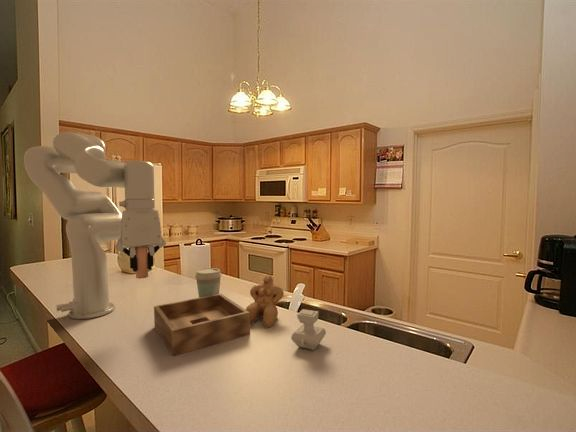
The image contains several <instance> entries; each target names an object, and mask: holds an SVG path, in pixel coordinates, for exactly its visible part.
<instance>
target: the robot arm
mask: <svg viewBox="0 0 576 432" xmlns="http://www.w3.org/2000/svg"><path fill="white" fill-rule="evenodd" d="M52 145H53V146H48V145H47V146H45V145H39V146H32V147H30V148H28V149H27V150H26V151H25V153H24V155H23V165H24V169H25V172H26V174H27V176H28V177H29V179H30V180H31V181H32V183H33V184H34V185H35V186H36V187H38V189H40V191H41V192H43V194H44V195H45V196H46V198H47V199H48V201H49V202H50V203H51V205H52V206H53V208H54V210H55V211H56V212H57V214H58V215H59V216H60V217H61V218H62V219H64V220H66V221H67V222H66V224H65V232H66V237H67V239H68V242H69V248H70V254H71V255H70V257H71V271H72V287H73V291H72V292H73V298H72V301H68V303H59V304H57V305H56V311H57V312H60V311H61V313H63V312H67V311H69V312H68V317H69V318H71V319H73V320H74V319H75V320H85V319H92V318H97V317H98V318H99V317H102V316H105V315H107V314H109V313H110V314H111V312H113V311H114V310H115V308H116V307H115V304H114V303H113V302H110V299H109V298H110V296H109V294H110V293H109V272H108V270H109V269H108V258H107V257H108V256H107V253H106V251H105V250H104V249H103V247H102V246H101V245H100V244H101V243H105V242H112V241H117V242H116V244H115V245H114V249H115V250H118V251H120V252H122V253H124V254H126V256H128V257H129V268H130V269H132V271H133V273H134V272H135V273H136V271H137V258H136V257H135V247H140V246H148V271H151V270H152V267H154V256H155V254H156V253H157V252H158V251H159V250H160V249H161V248H163V247H165V246H166V245H167V242H166V241H165V239H164V238H163V236H162V229H161V226H162V225H161V220H160V219H161V218H160V214H159V210H158V209H155V207H156V206H155V202H156V201H155V169H154V165H153V163H151V162H150V161H147V160H128V161H121V160H110V159H106V150H107V149H106V144H105V142H104V141H103V140H102V138H100V137H98V136H96V135H92V134H84V133H81V132H73V131H63V132H59V133H58V134H57V135H55V137H54V138H53V140H52ZM60 173H61V174H60ZM62 173H64V174H77V176H78V177H80V179H82V180H83V181H85V182H87V183H88V184H90V185H92V186H95V187H99V188H120V189H121V188H122V189H123V188H124V200H123V201H119V202H118V206H119V207H123V208H124V210H122V212H121V211H120V210H119V208H118V207H117V206H116V204H115V203H114V202H113V201H112V200H111V199H110V197H109V196H108V195H106V193H103V192H100V191H83V190H79V189H78V188H77V187H76V186H75V184H74V183H73V182H72V181H71V180H70V179H69V178H67V177H66V176H64V175H63V174H62Z"/></svg>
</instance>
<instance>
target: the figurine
mask: <svg viewBox="0 0 576 432" xmlns="http://www.w3.org/2000/svg"><path fill="white" fill-rule="evenodd" d="M262 280H263V283H262V284H256V285H254V286H252V287H251V288H250V290H249V293H250V294H249V295H250V296H251V298H252V299H253V300H254V302H252V303H250V304H248V306H246V308H245V310H247V311H248V312H250V325H253V324H254V323H256V321H257V320H258V318H260V317H262V323H263V326H264V328H266V329H269V328H271V327H273V326H274V324H275V322H276V320H277V318H278V314H279V310H278V307H277V306H276V304H278V303H279V302H280V301H281V299H282V298H283V297H284V294H285V293H284V290H283V289H282V287H280V286H278V285H276V284H274V278H273V277H272V275H271V274H266V275H265V276H264V277H263V279H262Z"/></svg>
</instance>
